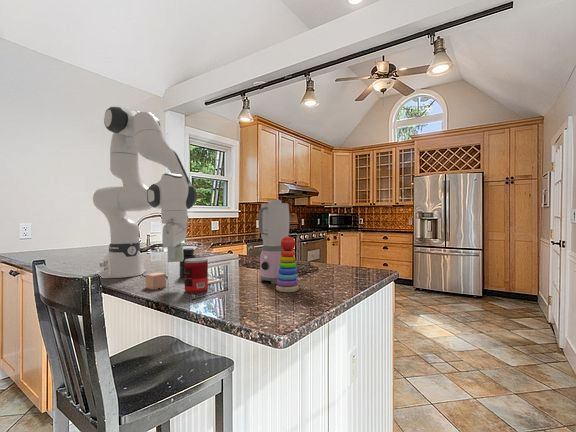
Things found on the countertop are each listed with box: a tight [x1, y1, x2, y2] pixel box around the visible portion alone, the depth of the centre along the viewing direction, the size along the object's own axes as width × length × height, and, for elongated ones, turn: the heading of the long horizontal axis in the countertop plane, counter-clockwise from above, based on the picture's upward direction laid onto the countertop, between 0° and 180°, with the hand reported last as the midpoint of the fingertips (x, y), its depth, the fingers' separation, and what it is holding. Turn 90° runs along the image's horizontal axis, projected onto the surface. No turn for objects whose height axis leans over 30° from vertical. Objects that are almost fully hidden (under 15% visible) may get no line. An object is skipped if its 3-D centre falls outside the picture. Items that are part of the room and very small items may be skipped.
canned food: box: [184, 257, 209, 294], centre depth 110 cm, size 8×8×11 cm
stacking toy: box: [275, 235, 300, 293], centre depth 109 cm, size 8×8×19 cm
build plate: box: [208, 276, 222, 286], centre depth 123 cm, size 9×8×1 cm
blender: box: [257, 199, 290, 285], centre depth 123 cm, size 16×12×32 cm
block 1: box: [145, 272, 167, 291], centre depth 115 cm, size 5×5×5 cm
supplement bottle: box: [178, 247, 197, 279], centre depth 133 cm, size 7×7×12 cm
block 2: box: [167, 245, 184, 263], centre depth 114 cm, size 5×5×5 cm
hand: (175, 256), depth 114 cm, fingers closed on block 2, 5 cm apart
